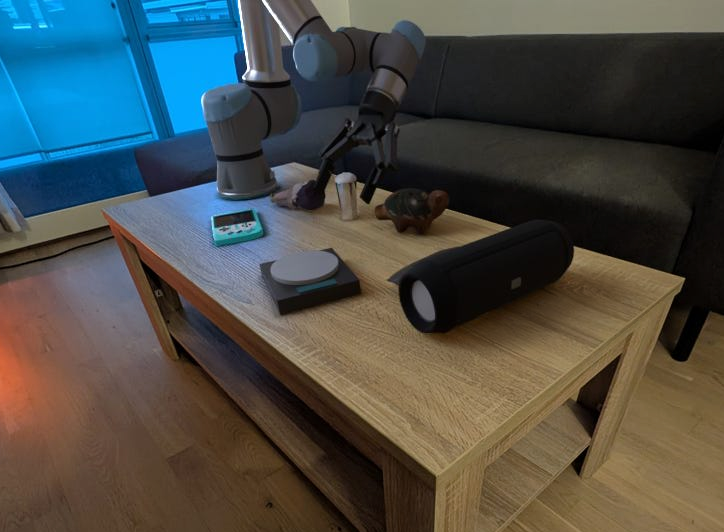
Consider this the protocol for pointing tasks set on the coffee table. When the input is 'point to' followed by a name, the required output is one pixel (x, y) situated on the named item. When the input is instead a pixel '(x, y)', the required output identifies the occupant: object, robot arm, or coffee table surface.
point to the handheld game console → (236, 227)
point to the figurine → (300, 196)
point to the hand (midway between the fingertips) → (340, 196)
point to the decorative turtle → (412, 209)
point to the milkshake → (347, 194)
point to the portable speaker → (484, 275)
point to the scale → (308, 280)
